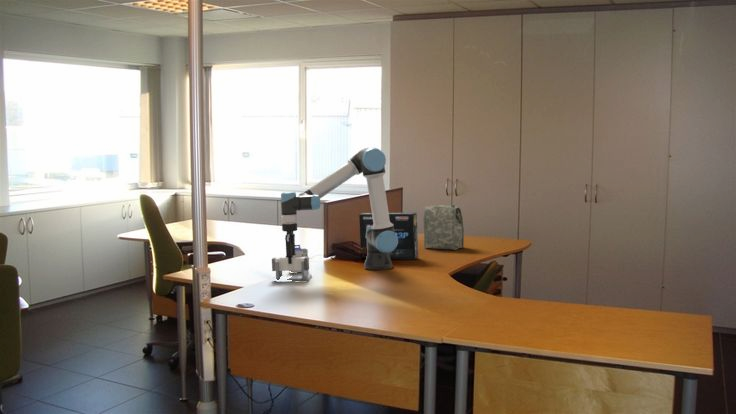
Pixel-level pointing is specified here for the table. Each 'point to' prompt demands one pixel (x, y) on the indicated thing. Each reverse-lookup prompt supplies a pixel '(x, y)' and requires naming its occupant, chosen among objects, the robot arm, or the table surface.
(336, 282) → the table surface
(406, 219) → the box
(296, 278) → the bracket
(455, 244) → the bag
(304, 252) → the ink cartridge box
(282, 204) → the robot arm
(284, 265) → the strip bar
